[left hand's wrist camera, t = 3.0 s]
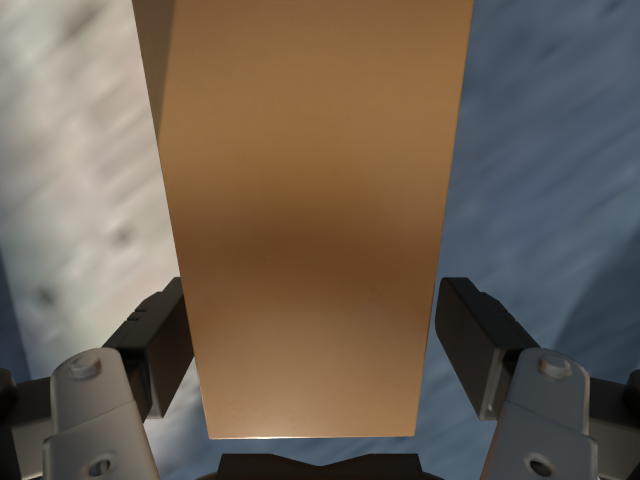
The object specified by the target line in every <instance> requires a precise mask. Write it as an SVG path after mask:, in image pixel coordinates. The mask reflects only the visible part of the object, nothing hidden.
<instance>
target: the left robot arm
mask: <svg viewBox="0 0 640 480" xmlns="http://www.w3.org/2000/svg"><path fill="white" fill-rule="evenodd" d="M435 329H436V333H437V336H438V338H439V340H440V342H441V344H442V346H443V348H444V350H445V352H446V354H447V356H448V358H449V360H450V362H451V364H452V366H453V368H454V370H455V372H456V374H457V376H458V378H459V380H460V382H461V384H462V386H463V388H464V390H465V392H466V394H467V396H468V398H469V400H470V402H471V404H472V406H473V408H474V410H475V412H476V414H477V416H478V418H479V420H497V421H498V423H497V426H496V429H495V432H494V435H493V439H492V442H491V445H490V448H489V451H488V454H487V458H486V461H485V464H484V467H483V470H482V473H481V477H480V480H597V476H598V477H599V478H600V480H640V369H638V370H635V371H633V372H632V373H631V374H630V377H629V379H628V381H627V383H626V385H624V384H619V383H615V382H610V381H605V380H601V379H596V378H591V377H589V375H588V373H587V372H586V370H585V369H584V368H583V367H582V366H581V365H580V364H579V363H577V362H576V361H574V360H573V359H571V358H570V357H568V356H566V355H564V354H562V353H559V352H557V351H553V350H550V349H546V348H541V347H540V346H539V345H538V344H537V343H536V342H535V340H534V339H533V338H532V337H531V336H530V335H529V334H528V333H527V332H526V331H525V329H524V328H523V327H522V326H521V325H520V324H519V323H518V322H516V321H515V318H514V317H513V316H512V315H511V314H510V313H508V311H507V310H506V308H505V307H504V306H503V305H502V304H501V303H500V302H499V301H498V300H496V299H495V298H493V297H491V296H490V295H488V294H487V293H485V292H479V290H478V289H477V288H476V287H475V286H474V284H473V283H472V282H471V281H470V280H469V279H468V278H466V277H444V278H442V280H441V282H440V288H439V294H438V301H437V308H436V315H435ZM193 357H194V350H193V344H192V339H191V333H190V327H189V322H188V316H187V310H186V305H185V299H184V293H183V288H182V282H181V277H174V278H173V279H172V280H171V282H170V283H169V284H168V285H167V286H166V288H165V289H164V290H163V291H162V292H156V293H155V294H153V295H151V296H150V297H148V298H146V299H145V300H143V301H142V302H141V304H140V305H139V306H138V307H137V308H136V309H135V312H133V313H132V314H131V315H130V316H129V317H128V318H127V321H124V323H123V324H122V325H121V326H120V327H119V328H118V329H117V330H116V331H115V333H114V334H113V335H112V336H111V337H110V338H109V339H108V340H107V341H106V343H105V344H104V345H103V346H102V347H101V348H94V349H90V350H87V351H83V352H81V353H78V354H76V355H74V356H72V357H70V358H69V359H67V360H66V361H64V362H63V363H61V364H60V365H59V366H58V367H57V368H56V369H55V370H54V372H53V373H52V375H51V377H46V378H42V379H37V380H32V381H28V382H23V383H18V384H15V382H14V379H13V377H12V375H11V372H10V371H9V370H7V369H4V368H0V480H40V478H41V477H42V475H43V480H160V477H159V473H158V470H157V467H156V464H155V461H154V458H153V454H152V451H151V448H150V445H149V442H148V439H147V435H146V432H145V429H144V426H143V423H144V422H145V420H146V419H163V417H164V415H165V413H166V411H167V409H168V407H169V405H170V403H171V401H172V399H173V397H174V395H175V393H176V391H177V389H178V387H179V385H180V383H181V381H182V379H183V377H184V375H185V373H186V371H187V369H188V367H189V365H190V363H191V361H192V359H193ZM196 480H444V479H442V478H440V477H438V476H435V475H432V474H430V473H426V472H423V471H422V468H421V464H420V461H419V457H418V454H367V455H363V456H359V457H355V458H352V459H348V460H344V461H340V462H337V463H333V464H329V465H325V466H315V465H311V464H307V463H303V462H300V461H296V460H292V459H288V458H285V457H281V456H277V455H273V454H222V457H221V461H220V464H219V468H218V471H217V472H214V473H210V474H208V475H205V476H202V477H200V478H198V479H196Z"/></svg>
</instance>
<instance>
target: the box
mask: <svg viewBox="0 0 640 480" xmlns="http://www.w3.org/2000/svg"><path fill="white" fill-rule="evenodd" d="M132 4H133V10H134V15H135V21H136V27H137V32H138V38H139V44H140V49H141V55H142V61H143V66H144V72H145V78H146V83H147V89H148V95H149V100H150V106H151V112H152V117H153V123H154V129H155V134H156V140H157V146H158V151H159V157H160V163H161V168H162V174H163V180H164V185H165V191H166V197H167V202H168V208H169V214H170V220H171V225H172V231H173V237H174V242H175V248H176V254H177V259H178V265H179V271H180V276H181V282H182V288H183V293H184V299H185V305H186V310H187V316H188V322H189V327H190V333H191V339H192V344H193V350H194V356H195V361H196V367H197V373H198V378H199V384H200V390H201V395H202V401H203V407H204V412H205V418H206V424H207V429H208V435H209V438H210V439H244V438H311V437H378V436H414V434H415V427H416V420H417V413H418V405H419V398H420V391H421V384H422V376H423V369H424V362H425V354H426V347H427V340H428V333H429V325H430V318H431V311H432V304H433V296H434V289H435V282H436V274H437V267H438V260H439V253H440V245H441V238H442V231H443V224H444V216H445V209H446V202H447V194H448V187H449V180H450V173H451V165H452V158H453V151H454V144H455V136H456V129H457V122H458V114H459V107H460V100H461V93H462V85H463V78H464V71H465V64H466V56H467V49H468V42H469V34H470V27H471V20H472V13H473V5H474V0H132Z"/></svg>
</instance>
